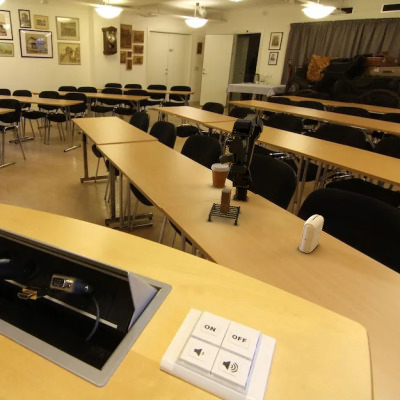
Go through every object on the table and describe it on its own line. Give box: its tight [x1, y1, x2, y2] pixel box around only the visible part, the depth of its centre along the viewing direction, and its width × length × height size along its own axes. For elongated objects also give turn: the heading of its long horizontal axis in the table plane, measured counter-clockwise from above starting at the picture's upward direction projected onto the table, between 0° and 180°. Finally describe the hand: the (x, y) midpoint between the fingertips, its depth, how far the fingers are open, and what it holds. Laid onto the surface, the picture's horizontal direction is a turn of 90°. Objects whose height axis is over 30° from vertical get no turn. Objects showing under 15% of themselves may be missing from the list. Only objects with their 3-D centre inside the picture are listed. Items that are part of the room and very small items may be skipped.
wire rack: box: [207, 202, 241, 226], centre depth 142 cm, size 14×12×3 cm
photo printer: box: [298, 214, 325, 254], centre depth 115 cm, size 10×4×12 cm, turn 133°
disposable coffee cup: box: [210, 163, 230, 189], centre depth 176 cm, size 10×10×12 cm
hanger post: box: [219, 187, 233, 215], centre depth 138 cm, size 3×3×11 cm
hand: (236, 182), depth 145 cm, fingers open, 9 cm apart
